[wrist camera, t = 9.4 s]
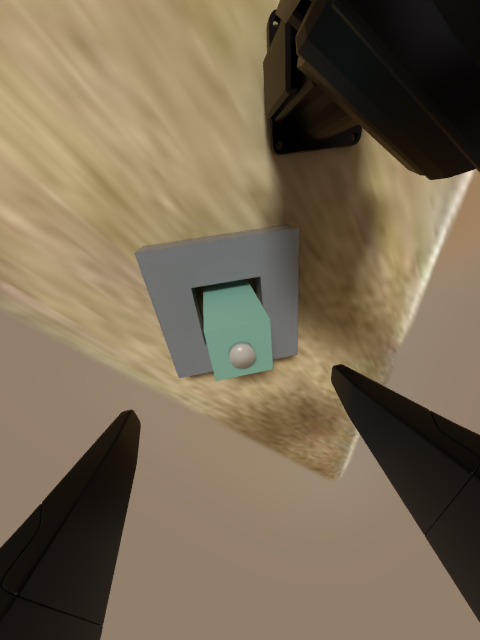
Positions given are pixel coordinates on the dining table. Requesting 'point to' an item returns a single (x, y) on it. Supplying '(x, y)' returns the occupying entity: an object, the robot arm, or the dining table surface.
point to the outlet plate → (218, 267)
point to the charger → (236, 330)
